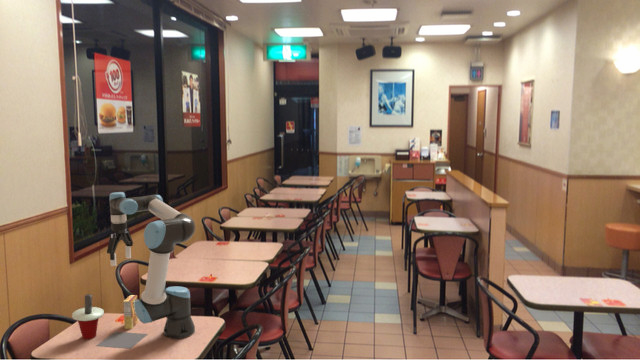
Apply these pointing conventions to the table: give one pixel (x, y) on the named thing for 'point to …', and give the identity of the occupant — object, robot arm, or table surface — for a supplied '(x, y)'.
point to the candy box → (130, 312)
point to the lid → (88, 311)
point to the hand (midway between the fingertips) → (121, 261)
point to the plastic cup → (88, 328)
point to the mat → (122, 340)
